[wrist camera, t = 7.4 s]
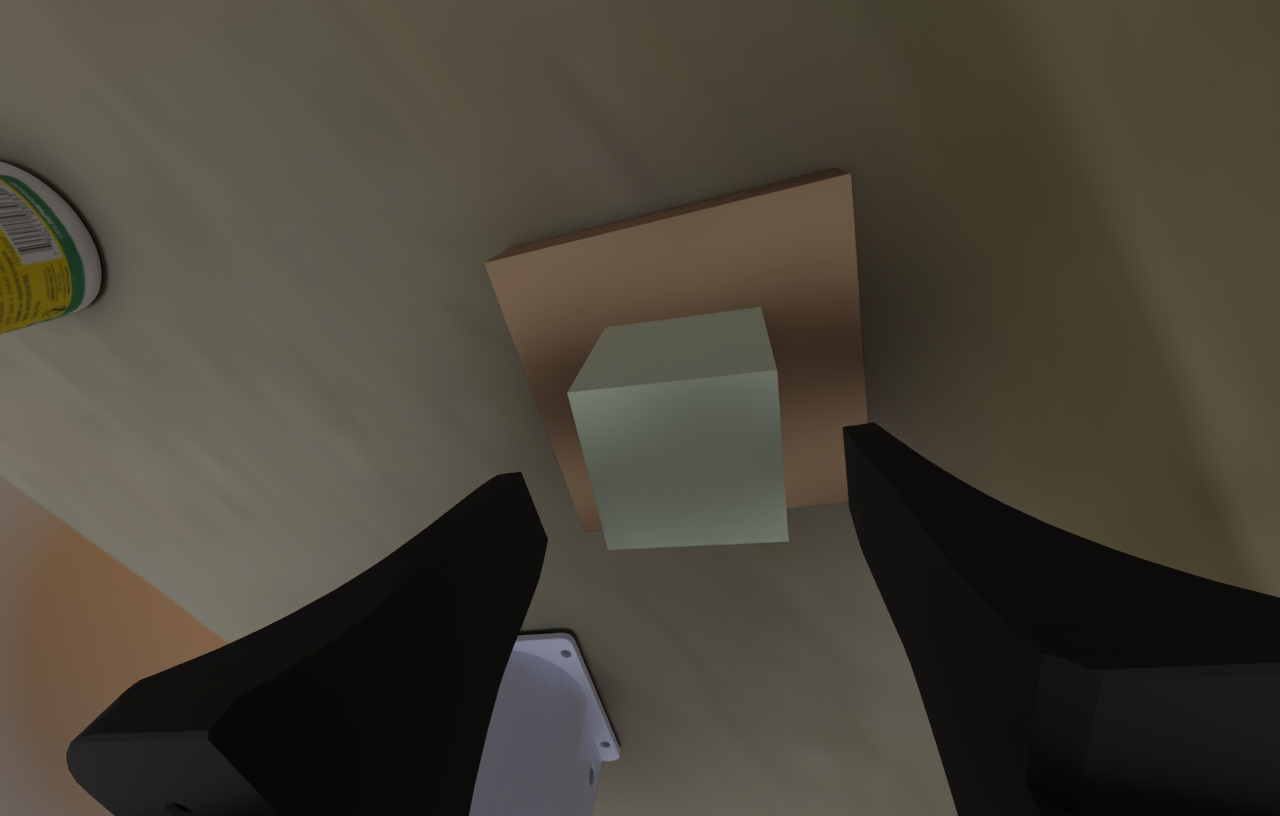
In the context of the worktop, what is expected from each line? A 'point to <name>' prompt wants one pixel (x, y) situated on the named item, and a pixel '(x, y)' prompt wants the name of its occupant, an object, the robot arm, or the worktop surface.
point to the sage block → (684, 432)
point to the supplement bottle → (41, 254)
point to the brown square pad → (706, 312)
